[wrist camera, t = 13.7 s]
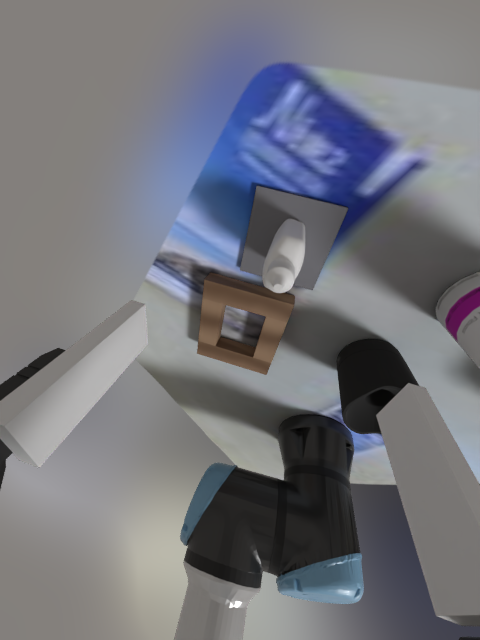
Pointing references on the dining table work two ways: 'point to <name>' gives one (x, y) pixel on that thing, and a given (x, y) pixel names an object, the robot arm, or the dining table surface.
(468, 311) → the supplement can
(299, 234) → the eye dropper bottle
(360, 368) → the pen holder
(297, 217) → the rubber mat
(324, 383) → the dining table surface
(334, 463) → the robot arm
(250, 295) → the bottle holder
